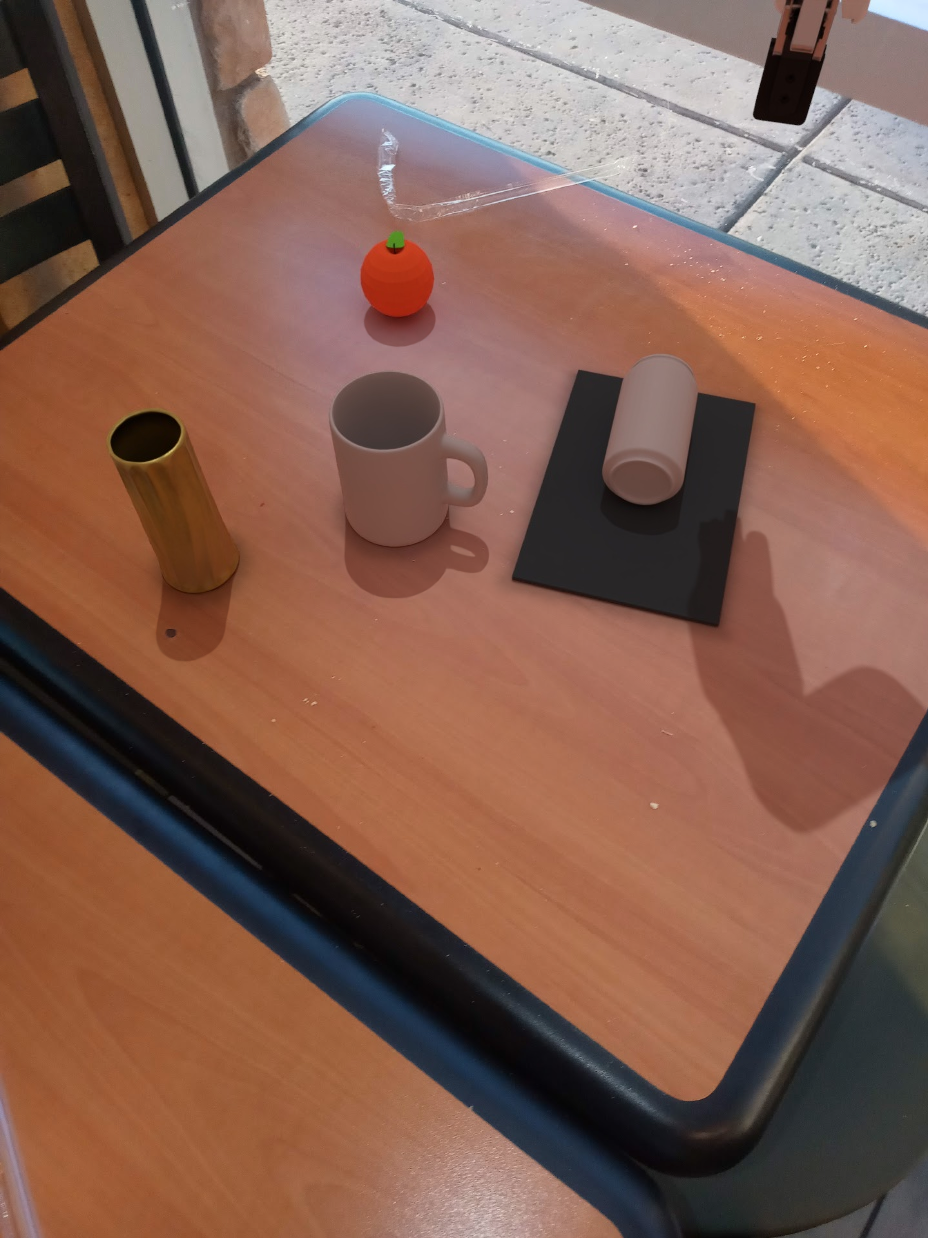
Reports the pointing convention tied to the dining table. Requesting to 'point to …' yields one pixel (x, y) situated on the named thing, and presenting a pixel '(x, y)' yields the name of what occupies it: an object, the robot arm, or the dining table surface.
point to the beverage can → (651, 430)
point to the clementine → (397, 276)
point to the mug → (398, 458)
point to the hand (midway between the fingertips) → (778, 115)
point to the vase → (172, 499)
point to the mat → (638, 512)
